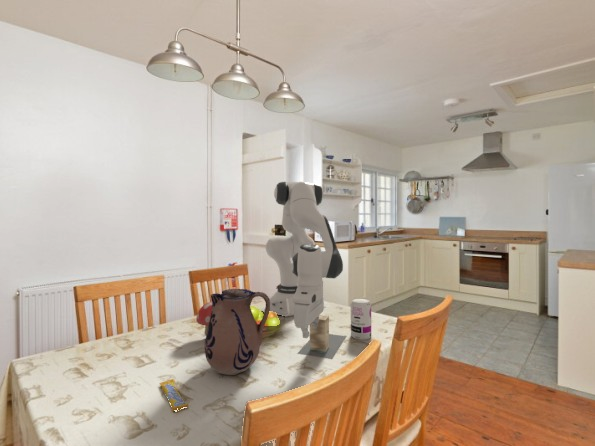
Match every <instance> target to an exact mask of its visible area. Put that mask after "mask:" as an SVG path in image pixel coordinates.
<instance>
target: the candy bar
mask: <svg viewBox="0 0 595 446" xmlns="http://www.w3.org/2000/svg"><path fill="white" fill-rule="evenodd" d="M175 382H176V380H175V379H174V378H172V379H168V380H165V381H162V382H160V383H159V386H160V385H161V386H160V388H161V390H162V389H163V390H162V392H163V391H164V392H165V394H166V396H167V397H168V399H169V402H170V403H171V406H172V408H173V410H172V412H173V411H174V410H177V408H178V410H180V409H181V408H183V407H187V408H188V407H189V404H188V403H185V400H184V399H183V397H182V395H181V394H180V392H179V390H178V387H177V386H176V383H175ZM164 392H163V393H164ZM165 394H164V395H165ZM166 396H165V397H166ZM167 397H166V398H167ZM169 402H168V403H169ZM171 406H170V407H171ZM172 408H171V409H172ZM178 410H177V411H178Z"/></svg>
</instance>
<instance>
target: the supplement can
mask: <svg viewBox="0 0 595 446" xmlns="http://www.w3.org/2000/svg"><path fill="white" fill-rule="evenodd" d="M350 336H351V337H352V338H354V339H356V340H358V341H359V340H360V341H363V340H369V339H371V337H372V304H371V302H370V300H369V299H367V298H353V299H352V300H351V303H350Z"/></svg>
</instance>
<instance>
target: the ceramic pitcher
mask: <svg viewBox="0 0 595 446" xmlns="http://www.w3.org/2000/svg"><path fill="white" fill-rule="evenodd" d="M256 297H260V298H262V300H264V302H265V306H266V307H265V306H264V307H265V313H263V316H262V317H261V320H260V322H259V323H258V322H257V321H256V319H255V316H254V314H253V312H252V309H251V305H252V301H253V300H254V298H256ZM269 298H270V297H269V295H267V293H265V292H263V291H262V292H261V291H251V290H250V289H246V288H245V289H243V288H230V289H225V290H222V291H221V293H212V294H210V299H211V300H210V301H211V302H212V313H211V317H210V322H209V326H208V330H207V335H205V342H204V355H205V358H206V361H207V363H208V365H209V367H211V368H212V369H213V370H214V371H215V372H217V373H218V374H221V375H225V376H234V375H235V376H236V375H238V374H241V373H243V372H245V371H248V370H249V368H250V367H251V366H253V364H254V363H255V362H256V360H257V358H258V356H259V353H260V349H261V345H262V343H263V339H264V338H263V337H264V336H263V332H264V331H263V330H264V328H265V325H266V323H267V320H268V318H269V315H270V314H269V311H270V300H269Z"/></svg>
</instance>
